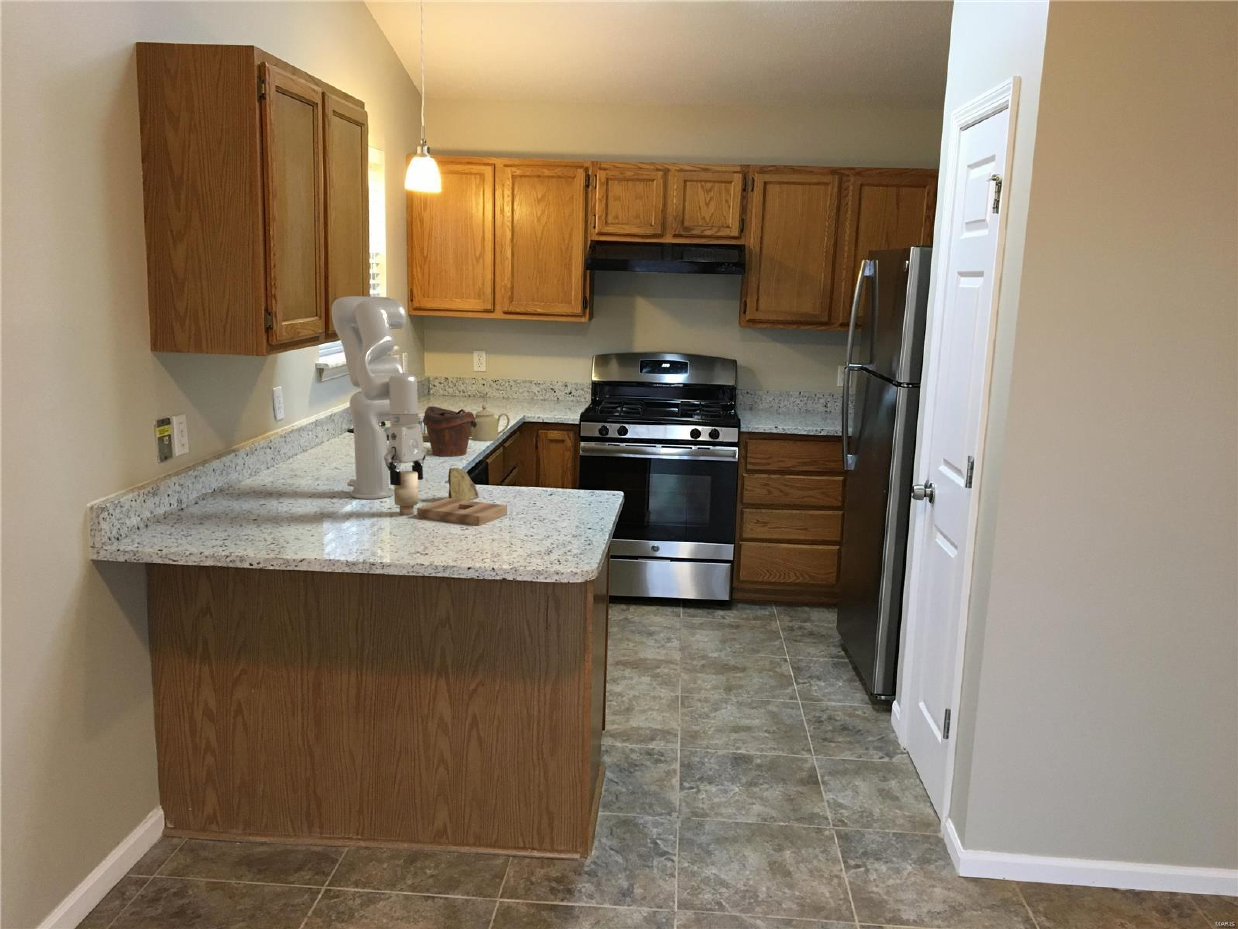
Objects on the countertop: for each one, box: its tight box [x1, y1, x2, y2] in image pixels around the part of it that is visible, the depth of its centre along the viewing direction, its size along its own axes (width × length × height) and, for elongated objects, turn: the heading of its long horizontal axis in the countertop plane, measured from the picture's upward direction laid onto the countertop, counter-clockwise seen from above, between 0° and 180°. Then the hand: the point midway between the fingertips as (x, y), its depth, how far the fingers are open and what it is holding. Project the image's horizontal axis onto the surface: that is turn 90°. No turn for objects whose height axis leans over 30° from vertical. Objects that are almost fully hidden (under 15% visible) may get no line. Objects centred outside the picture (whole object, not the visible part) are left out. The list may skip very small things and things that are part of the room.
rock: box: [447, 467, 480, 501], centre depth 276 cm, size 11×9×10 cm
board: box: [416, 497, 508, 526], centre depth 257 cm, size 20×14×3 cm
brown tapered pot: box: [422, 405, 477, 458], centre depth 353 cm, size 18×20×18 cm
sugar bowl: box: [471, 403, 511, 442], centre depth 391 cm, size 15×11×15 cm
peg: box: [393, 470, 419, 516], centre depth 258 cm, size 6×6×12 cm
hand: (406, 482), depth 256 cm, fingers open, 9 cm apart
